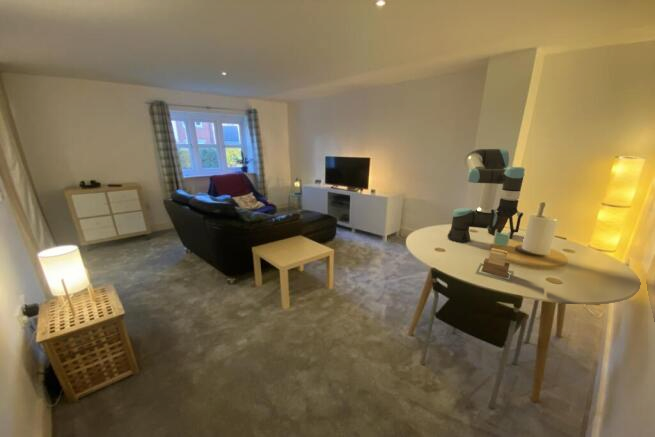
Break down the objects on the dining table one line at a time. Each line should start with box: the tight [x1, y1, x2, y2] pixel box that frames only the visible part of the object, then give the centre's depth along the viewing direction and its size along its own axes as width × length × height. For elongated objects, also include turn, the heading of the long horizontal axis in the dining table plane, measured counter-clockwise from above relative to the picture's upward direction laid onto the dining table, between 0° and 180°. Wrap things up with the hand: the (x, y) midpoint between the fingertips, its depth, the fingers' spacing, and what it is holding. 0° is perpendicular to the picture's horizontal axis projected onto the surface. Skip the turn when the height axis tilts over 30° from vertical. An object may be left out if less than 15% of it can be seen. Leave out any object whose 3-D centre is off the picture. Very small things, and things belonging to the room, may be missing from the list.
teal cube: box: [493, 232, 508, 247], centre depth 132 cm, size 5×5×5 cm
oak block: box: [488, 247, 508, 266], centre depth 135 cm, size 7×7×6 cm
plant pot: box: [487, 211, 509, 235], centre depth 199 cm, size 15×15×16 cm
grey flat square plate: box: [474, 262, 515, 284], centre depth 138 cm, size 16×16×1 cm
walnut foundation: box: [482, 257, 510, 278], centre depth 137 cm, size 6×11×6 cm, turn 51°
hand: (500, 242), depth 133 cm, fingers closed on teal cube, 5 cm apart
